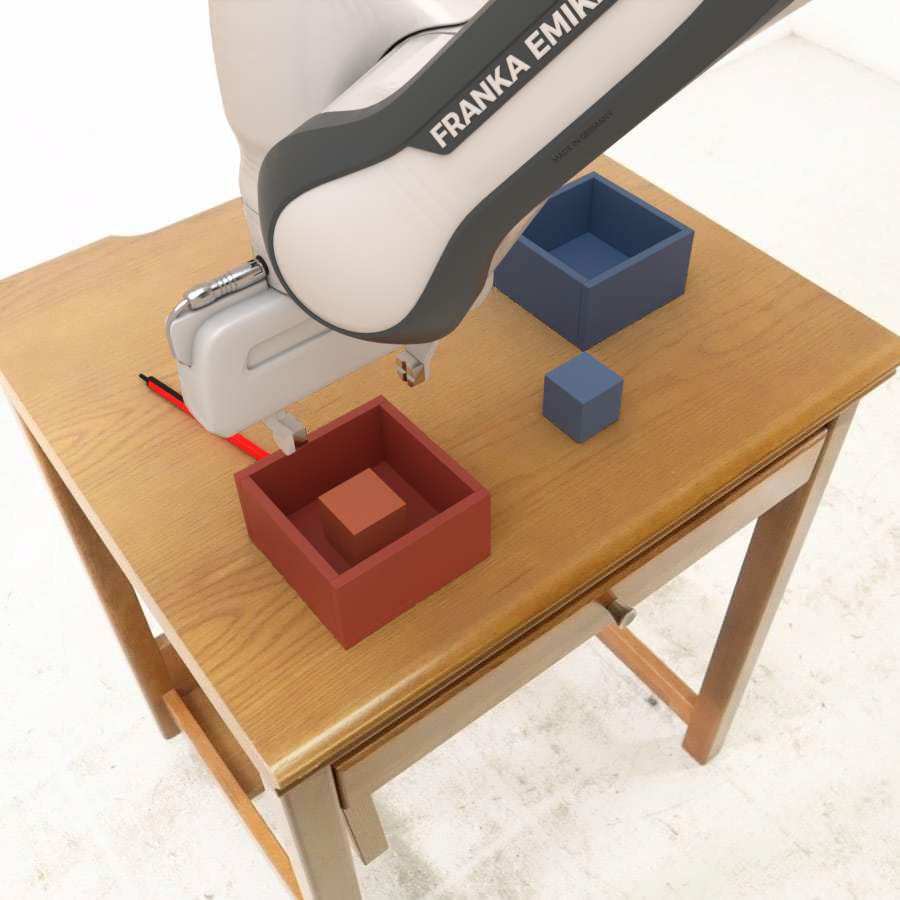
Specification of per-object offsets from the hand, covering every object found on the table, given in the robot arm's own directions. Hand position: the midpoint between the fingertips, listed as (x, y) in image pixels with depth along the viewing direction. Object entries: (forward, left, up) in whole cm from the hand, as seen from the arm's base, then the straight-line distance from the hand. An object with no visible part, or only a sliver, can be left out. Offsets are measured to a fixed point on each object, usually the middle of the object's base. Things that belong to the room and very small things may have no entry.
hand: (354, 410), depth 67 cm
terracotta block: (0, 0, -13) cm, 13 cm away
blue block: (0, -21, -14) cm, 25 cm away
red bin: (0, 0, -14) cm, 14 cm away
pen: (+18, +3, -14) cm, 22 cm away
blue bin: (+12, -33, -14) cm, 37 cm away
